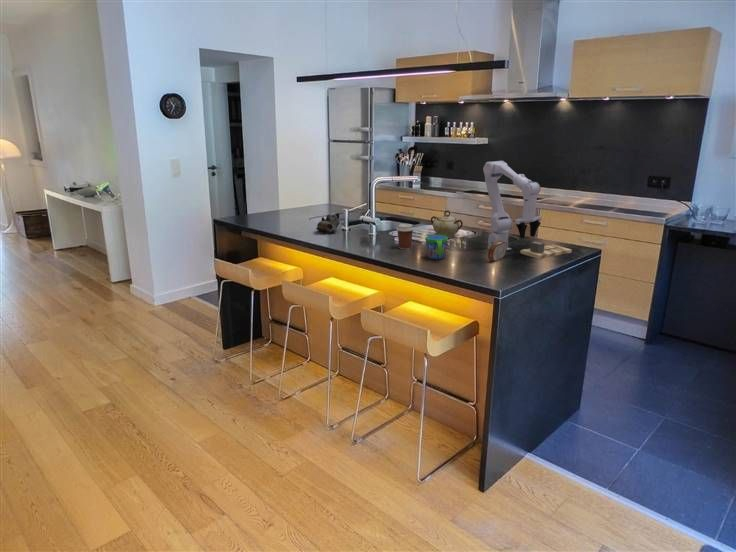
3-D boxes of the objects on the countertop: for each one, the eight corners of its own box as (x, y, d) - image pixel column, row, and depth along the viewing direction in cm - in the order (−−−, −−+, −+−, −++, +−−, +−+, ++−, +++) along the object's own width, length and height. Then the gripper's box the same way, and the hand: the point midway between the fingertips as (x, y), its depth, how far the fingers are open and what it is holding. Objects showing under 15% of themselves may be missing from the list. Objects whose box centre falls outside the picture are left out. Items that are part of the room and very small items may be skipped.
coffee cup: (415, 246, 267) (415, 223, 263) (412, 250, 258) (412, 227, 255) (398, 245, 269) (398, 223, 265) (394, 249, 261) (394, 226, 257)
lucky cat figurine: (315, 230, 309) (324, 208, 309) (334, 237, 310) (342, 216, 310) (315, 228, 294) (324, 205, 294) (335, 235, 295) (343, 213, 295)
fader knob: (537, 252, 243) (538, 244, 242) (529, 250, 248) (530, 242, 246) (544, 251, 245) (544, 243, 244) (536, 249, 249) (536, 241, 248)
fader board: (538, 258, 240) (538, 255, 239) (520, 253, 250) (520, 249, 249) (571, 252, 249) (571, 249, 249) (552, 247, 259) (553, 244, 259)
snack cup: (423, 253, 252) (423, 233, 249) (444, 253, 252) (445, 233, 249) (426, 262, 237) (427, 241, 234) (449, 262, 237) (450, 240, 234)
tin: (501, 255, 246) (502, 238, 244) (507, 256, 244) (508, 239, 242) (486, 262, 235) (487, 244, 233) (493, 263, 233) (494, 245, 231)
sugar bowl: (467, 236, 286) (469, 209, 282) (455, 241, 275) (456, 214, 270) (437, 232, 298) (437, 206, 293) (424, 237, 286) (424, 210, 282)
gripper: (523, 211, 230) (521, 240, 234) (547, 208, 237) (544, 237, 241) (513, 209, 236) (511, 237, 240) (536, 206, 243) (534, 234, 247)
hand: (527, 237), depth 241 cm, fingers open, 6 cm apart
